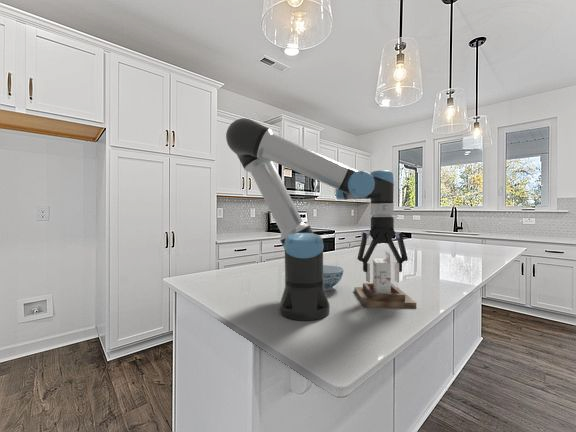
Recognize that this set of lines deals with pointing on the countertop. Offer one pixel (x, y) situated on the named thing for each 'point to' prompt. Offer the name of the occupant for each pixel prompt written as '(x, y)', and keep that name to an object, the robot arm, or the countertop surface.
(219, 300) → the countertop surface
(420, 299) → the countertop surface
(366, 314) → the countertop surface
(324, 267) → the chinaware
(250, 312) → the countertop surface
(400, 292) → the walnut bay board
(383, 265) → the ink cartridge box
